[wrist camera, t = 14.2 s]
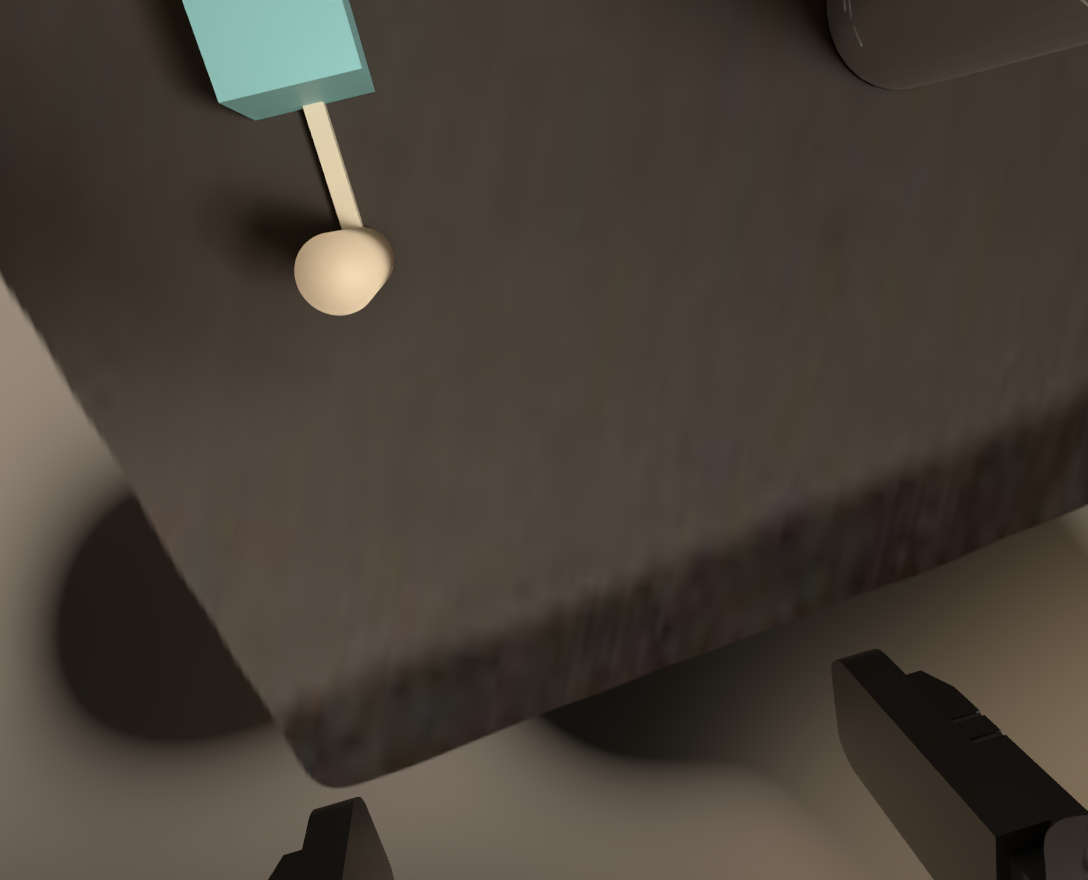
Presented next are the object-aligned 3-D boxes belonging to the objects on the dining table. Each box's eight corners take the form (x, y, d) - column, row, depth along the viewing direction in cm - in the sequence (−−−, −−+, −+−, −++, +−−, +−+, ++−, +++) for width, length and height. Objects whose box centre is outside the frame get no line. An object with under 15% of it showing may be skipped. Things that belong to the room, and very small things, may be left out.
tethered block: (334, -47, 33) (292, -151, 24) (427, 274, 38) (422, 295, 29) (207, -18, 33) (112, -111, 23) (317, 302, 38) (276, 333, 28)
